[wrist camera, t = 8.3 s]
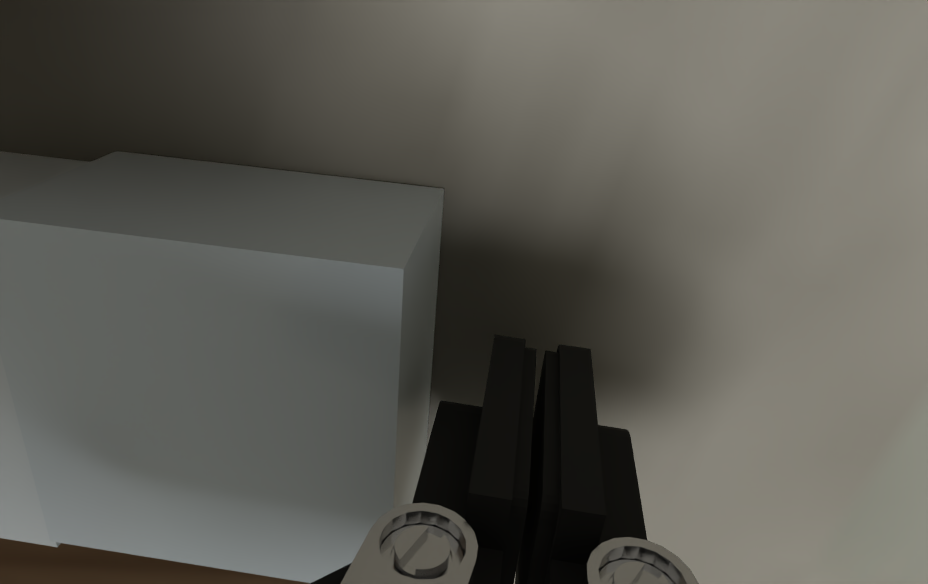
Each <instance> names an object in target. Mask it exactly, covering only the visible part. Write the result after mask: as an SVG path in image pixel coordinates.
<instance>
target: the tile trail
mask: <svg viewBox="0 0 928 584" xmlns="http://www.w3.org/2000/svg"><path fill="white" fill-rule="evenodd" d="M443 200H444V189H443V188H434V187H425V186H417V185H408V184H399V183H390V182H382V181H373V180H364V179H356V178H347V177H338V176H329V175H321V174H312V173H303V172H294V171H286V170H277V169H268V168H259V167H251V166H242V165H233V164H224V163H216V162H207V161H198V160H190V159H181V158H172V157H163V156H155V155H146V154H137V153H128V152H120V151H116V152H113V153H111V154H108V155H106V156H104V157H101V158H99V159H96V160H94V161H91V162H89V163H87V164H84V165H82V166H79V167H77V168H75V169H72V170H70V171H67V172H65V173H62V174H60V175H58V176H55V177H53V178H50V179H48V180H46V181H43V182H41V183H38V184H36V185H33V186H31V187H29V188H26V189H24V190H21V191H19V192H17V193H14V194H12V195H9V196H7V197H4V198H2V199H0V354H1V358H2V362H3V366H4V369H5V373H6V377H7V381H8V384H9V388H10V392H11V396H12V399H13V403H14V407H15V411H16V415H17V418H18V422H19V426H20V430H21V433H22V437H23V441H24V445H25V448H26V452H27V456H28V460H29V463H30V467H31V471H32V475H33V479H34V482H35V486H36V490H37V494H38V497H39V501H40V505H41V509H42V512H43V516H44V520H45V524H46V528H47V531H48V535H49V539H50V541H52V542H58V543H64V544H70V545H76V546H83V547H89V548H95V549H101V550H107V551H114V552H120V553H126V554H132V555H138V556H145V557H151V558H157V559H163V560H169V561H176V562H182V563H188V564H194V565H201V566H207V567H213V568H219V569H225V570H232V571H238V572H244V573H250V574H256V575H263V576H269V577H275V578H281V579H287V580H294V581H300V582H306V583H312V582H314V581H316V580H318V579H320V578H322V577H324V576H326V575H328V574H330V573H332V572H334V571H336V570H338V569H340V568H342V567H344V566H346V565H348V564H350V563H352V562H353V560H354V558H355V556H356V554H357V553H358V551H359V549H360V547H361V545H362V543H363V542H364V540H365V538H366V536H367V534H368V532H369V531H370V529H371V527H372V526H373V525H374V524H375V522H376V521H377V520H378V519H379V517H380V516H382V515H383V514H385V513H387V512H388V511H390V510H391V509H393V508H396V507H399V506H402V505H405V504H412V502H413V498H414V495H415V491H416V487H417V484H418V480H419V476H420V472H421V469H422V465H423V461H424V458H425V454H426V446H427V432H428V417H429V403H430V388H431V374H432V359H433V345H434V330H435V316H436V301H437V287H438V272H439V258H440V243H441V229H442V214H443Z"/></svg>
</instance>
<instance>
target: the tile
mask: <svg viewBox="0 0 928 584" xmlns="http://www.w3.org/2000/svg"><path fill="white" fill-rule="evenodd" d="M87 163H89V162H87V161H79V160H70V159H61V158H53V157H44V156H36V155H27V154H19V153H10V152H1V151H0V199H2V198H4V197H7V196H9V195H12V194H14V193H17V192H19V191H21V190H24V189H26V188H29V187H31V186H33V185H36V184H38V183H41V182H43V181H46V180H48V179H50V178H53V177H55V176H58V175H60V174H62V173H65V172H67V171H70V170H72V169H75V168H77V167H79V166H82V165H84V164H87ZM0 538H3V539H9V540H15V541H22V542H28V543H34V544H40V545H46V546H52V547H58V546H59V545H60V544H61V543H58V542H52V541H50V539H49V535H48V531H47V528H46V524H45V520H44V516H43V512H42V509H41V505H40V501H39V497H38V494H37V490H36V486H35V482H34V479H33V475H32V471H31V467H30V463H29V460H28V456H27V452H26V448H25V445H24V441H23V437H22V433H21V430H20V426H19V422H18V418H17V415H16V411H15V407H14V403H13V399H12V396H11V392H10V388H9V384H8V381H7V377H6V373H5V369H4V366H3V362H2V358H1V354H0Z"/></svg>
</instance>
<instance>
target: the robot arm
mask: <svg viewBox="0 0 928 584" xmlns="http://www.w3.org/2000/svg"><path fill="white" fill-rule="evenodd" d="M535 367H536V349H531V348H525V339H519V338H512V337H506V336H499V335H495V338H494V344H493V349H492V355H491V361H490V367H489V373H488V379H487V385H486V391H485V397H484V403H483V407H479V406H473V405H466V404H460V403H454V402H447V401H440V403H439V406H438V410H437V413H436V417H435V421H434V424H433V428H432V432H431V435H430V439H429V443H428V447H427V450H426V454H425V458H424V461H423V465H422V469H421V472H420V476H419V480H418V484H417V487H416V491H415V495H414V498H413V502H412V504H405V505H402V506H399V507H396V508H393V509H391V510H390V511H388V512H387V513H385V514H383V515H382V516H380V517H379V519H378V520H377V521H376V522H375V524H374V525H373V526H372V527H371V529H370V531H369V532H368V534H367V536H366V538H365V540H364V542H363V543H362V545H361V547H360V549H359V551H358V553H357V554H356V556H355V558H354V560H353V562H352V563H350V564H348V565H346V566H344V567H342V568H340V569H338V570H336V571H334V572H332V573H330V574H328V575H326V576H324V577H322V578H320V579H318V580H316V581H314V582H312V583H310V584H513V583H514V578H515V572H516V578H515V584H699V583H698V582H697V580H696V578H695V576H694V575H693V573H692V571H691V570H690V569H689V567H688V566H687V565H686V564H685V563H684V562H683V561H682V560H681V559H680V558H679V557H678V556H676V555H675V554H673V553H672V552H670V551H669V550H667V549H666V548H664V547H663V546H660V545H658V544H655V543H653V542H650V541H648V540H647V536H646V530H645V524H644V518H643V512H642V505H641V499H640V493H639V487H638V481H637V474H636V468H635V462H634V456H633V450H632V443H631V437H630V434H629V431H628V430H626V429H620V428H613V427H607V426H601V425H598V423H597V412H596V401H595V391H594V380H593V369H592V358H591V350H590V349H586V348H580V347H573V346H566V345H559V346H558V349H557V352H551V351H546V352H545V355H544V361H543V366H542V372H541V377H540V383H539V389H538V394H537V400H536V405H535V411H534V416H533V406H534V386H535Z"/></svg>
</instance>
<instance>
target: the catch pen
mask: <svg viewBox="0 0 928 584" xmlns="http://www.w3.org/2000/svg"><path fill="white" fill-rule="evenodd" d="M0 584H310V583H306V582H300V581H294V580H287V579H281V578H275V577H269V576H263V575H256V574H250V573H244V572H238V571H232V570H225V569H219V568H213V567H207V566H201V565H194V564H188V563H182V562H176V561H169V560H163V559H157V558H151V557H145V556H138V555H132V554H126V553H120V552H114V551H107V550H101V549H95V548H89V547H83V546H76V545H70V544H64V543H61V544H60V545H59V546H58V547H52V546H46V545H40V544H34V543H28V542H22V541H15V540H9V539H3V538H0Z"/></svg>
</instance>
